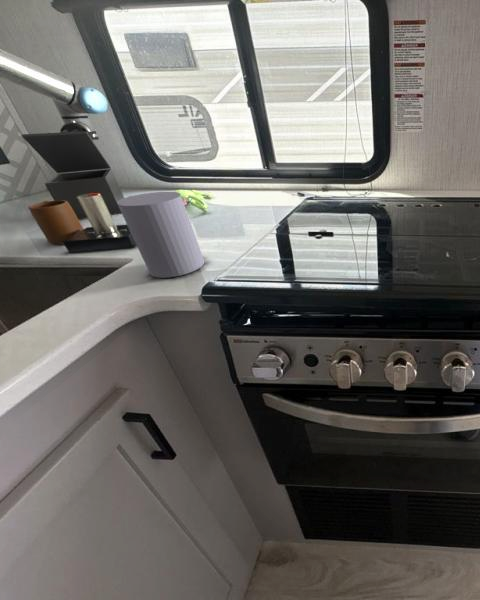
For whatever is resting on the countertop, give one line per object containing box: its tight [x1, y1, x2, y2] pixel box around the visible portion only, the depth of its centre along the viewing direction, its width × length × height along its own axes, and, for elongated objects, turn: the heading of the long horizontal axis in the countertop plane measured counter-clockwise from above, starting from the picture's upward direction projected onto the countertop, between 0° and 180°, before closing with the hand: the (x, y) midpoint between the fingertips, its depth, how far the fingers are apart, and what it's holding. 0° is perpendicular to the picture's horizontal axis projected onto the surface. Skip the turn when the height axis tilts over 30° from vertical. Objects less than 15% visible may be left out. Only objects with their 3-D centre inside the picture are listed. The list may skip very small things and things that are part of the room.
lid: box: [21, 131, 112, 174], centre depth 102 cm, size 18×14×1 cm
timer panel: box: [62, 224, 137, 254], centre depth 84 cm, size 14×10×3 cm
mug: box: [28, 200, 84, 245], centre depth 86 cm, size 12×8×9 cm, turn 49°
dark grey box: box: [44, 168, 125, 220], centre depth 107 cm, size 17×14×11 cm
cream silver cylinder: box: [77, 193, 118, 235], centre depth 80 cm, size 4×4×9 cm
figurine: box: [172, 189, 213, 214], centre depth 109 cm, size 18×27×6 cm
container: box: [117, 191, 205, 279], centre depth 68 cm, size 10×10×15 cm
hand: (63, 140), depth 98 cm, fingers closed
